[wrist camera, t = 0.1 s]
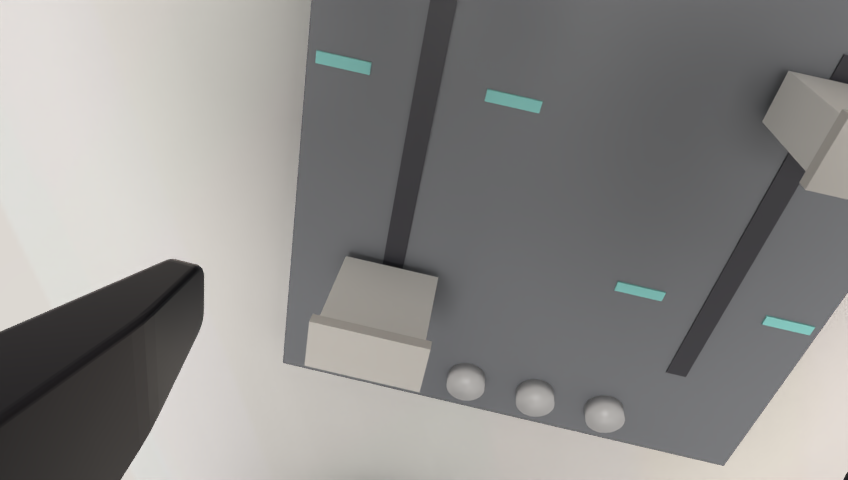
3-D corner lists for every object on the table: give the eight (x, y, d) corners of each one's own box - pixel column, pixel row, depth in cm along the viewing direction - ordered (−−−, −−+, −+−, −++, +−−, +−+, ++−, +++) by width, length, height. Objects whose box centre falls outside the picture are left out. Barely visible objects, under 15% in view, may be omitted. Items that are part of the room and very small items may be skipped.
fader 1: (434, 314, 24) (419, 392, 21) (335, 291, 24) (304, 365, 21) (444, 274, 23) (430, 349, 20) (341, 250, 23) (309, 321, 20)
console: (716, 444, 28) (727, 477, 27) (291, 344, 29) (278, 372, 27) (1082, -91, 16) (1139, -84, 15) (343, -252, 17) (325, -262, 15)
